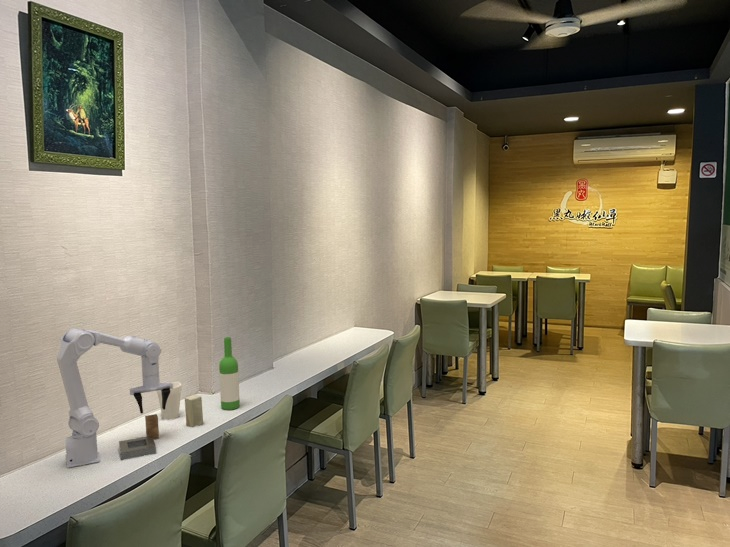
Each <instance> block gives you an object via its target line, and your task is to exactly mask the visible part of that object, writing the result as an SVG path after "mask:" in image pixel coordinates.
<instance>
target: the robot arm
mask: <svg viewBox="0 0 730 547" xmlns="http://www.w3.org/2000/svg"><path fill="white" fill-rule="evenodd" d="M100 344H103V345H108V346H113V347H117V348H120V351H121V352H122V353H127V354H130V355H136V356H140V357H141V373H142V374H141V378H142V385H139V386H136V387H132V388H129V395H130V396H133V397H134V399H135V401H136V403H137V405H138V408H139V413H140V414H141V415H142V414H144V409H143V396H142V394H143V393H150V392H157V390H161V392H162V408H163V410H164V409H165V407H166V402H167V399H168V396H169V394H170V389H173V383H172V382H173V381H169V382H170V383H168V382H160V381H161V380H160V365H159V364H160V363H159V359H160V358H159V357H160V355H161V353H162V348H161V347H160V345H159V344H158V343H157V342H153V341H150V340H148V339H147V338H139V337H137V336H136V335H134V334H130V335H126V336H124V337H119V336H115V335H111V334H108V333H104V332H100V331H96V330H90V329H79V328H78V327H77V328H74V327H73V328H69V329H68V330H67V331H66V332H65V333H64V334H63V335H62V337H61V338H60V346H59V350H58V354H57V357H56V362H57V364H58V365H57V366H58V368H59V372H60V376H61V378H62V383H63V387H64V390H65V395H66V397H67V400H68V401H67V402H68V405H69V409H70V410H69V411H68V417H69V418H68V424H67V425H68V427H69V428H70V430H71V431H72V433H71V435H69V436H67V437H65V453H66V454H65V461H66V467H67V468H69V469H70V468H74V467H79V466H84V465H90V464H95V463H99V462H100V452H99V451H98V440H97V439H98V438H97V437H98V436H97V432H98V430H99V427H100V423H99V421H98V419H97V418H96V417H95V416H94V412H93V410H91V408H90V406H89V404H88V399H87V397H86V393H85V388H84V385H83V382H82V378H81V374H80V369H79V366H78V362H77V361H78V360H79V359H80V358H81V357H82V356H83V355H84V354H86V353H87V352H88V351H89V350H91V349H92V347H93V346H94V347H97V346H99V345H100Z"/></svg>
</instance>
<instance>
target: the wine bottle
mask: <svg viewBox="0 0 730 547" xmlns="http://www.w3.org/2000/svg"><path fill="white" fill-rule="evenodd" d="M223 344H224V345H223V346H224V347H223V349H224V357H223V358H221V360H220V362H219V365H218V366H219V390H220V392H219V394H220V407H221V409H223V410H226V411H227V410H228V411H230V410H231V411H232V410H236V409H237V408H239V407H240V404H241V402H240V381H239V379H240V378H239V363H238V360H237V359H236V358H235V357H234V356H233V353H232V352H233V351H232V338H231V337H223Z"/></svg>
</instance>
